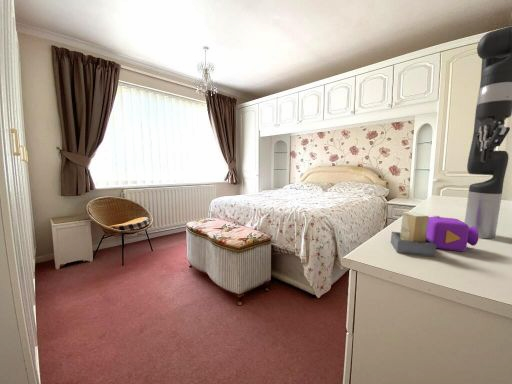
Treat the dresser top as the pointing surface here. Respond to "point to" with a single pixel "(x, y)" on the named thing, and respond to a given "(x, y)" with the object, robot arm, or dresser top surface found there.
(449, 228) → the toy camera
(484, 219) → the robot arm
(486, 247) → the dresser top surface
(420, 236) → the skincare box
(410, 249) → the tray
